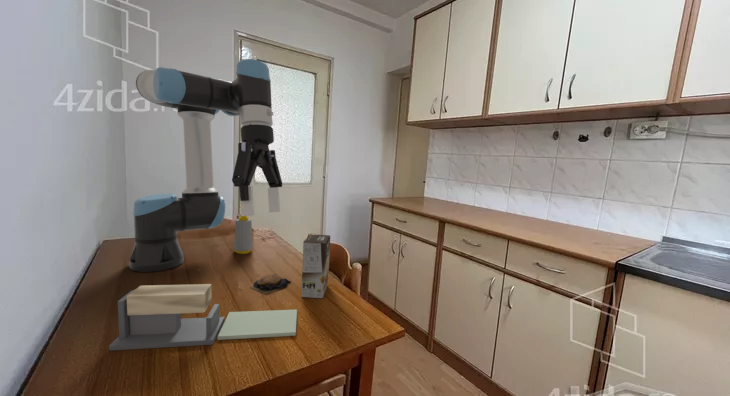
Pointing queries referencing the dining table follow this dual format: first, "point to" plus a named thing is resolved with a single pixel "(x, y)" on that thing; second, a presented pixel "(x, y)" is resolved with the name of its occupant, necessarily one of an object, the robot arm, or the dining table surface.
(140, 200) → the robot arm
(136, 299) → the maple bar
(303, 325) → the dining table surface
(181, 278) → the dining table surface
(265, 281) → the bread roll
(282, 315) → the sage mat
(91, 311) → the dining table surface
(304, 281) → the coffee box
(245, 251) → the soap bottle
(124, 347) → the cradle
